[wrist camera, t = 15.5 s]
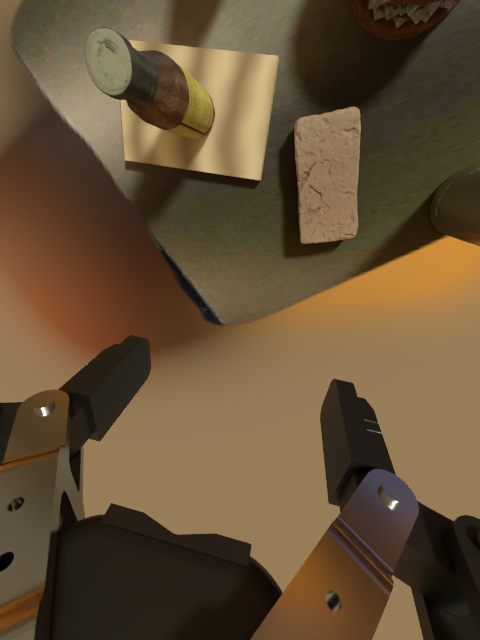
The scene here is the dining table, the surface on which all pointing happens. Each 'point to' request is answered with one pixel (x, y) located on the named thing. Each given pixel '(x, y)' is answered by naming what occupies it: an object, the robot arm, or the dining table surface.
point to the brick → (328, 175)
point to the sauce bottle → (149, 85)
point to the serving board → (230, 114)
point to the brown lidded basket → (400, 16)
